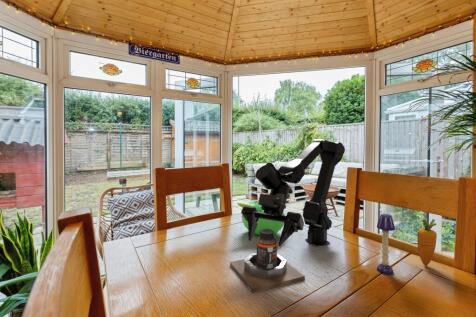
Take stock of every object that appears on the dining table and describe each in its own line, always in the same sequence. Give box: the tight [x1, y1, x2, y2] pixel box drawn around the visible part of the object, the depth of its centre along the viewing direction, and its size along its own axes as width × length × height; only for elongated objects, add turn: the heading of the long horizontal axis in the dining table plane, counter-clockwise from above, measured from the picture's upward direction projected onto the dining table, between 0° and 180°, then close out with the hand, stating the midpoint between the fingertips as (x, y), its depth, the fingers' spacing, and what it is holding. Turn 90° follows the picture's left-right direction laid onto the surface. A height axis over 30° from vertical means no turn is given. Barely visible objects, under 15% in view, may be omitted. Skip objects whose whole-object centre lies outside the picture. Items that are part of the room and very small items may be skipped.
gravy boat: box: [237, 199, 286, 236], centre depth 108 cm, size 18×17×15 cm
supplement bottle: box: [256, 229, 278, 269], centre depth 77 cm, size 6×6×11 cm
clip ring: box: [244, 252, 288, 280], centre depth 77 cm, size 12×12×2 cm
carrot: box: [416, 217, 437, 267], centre depth 80 cm, size 5×5×15 cm
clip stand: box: [229, 258, 306, 294], centre depth 77 cm, size 16×16×1 cm
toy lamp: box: [376, 213, 396, 275], centre depth 77 cm, size 5×5×17 cm
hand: (263, 243), depth 75 cm, fingers open, 9 cm apart
